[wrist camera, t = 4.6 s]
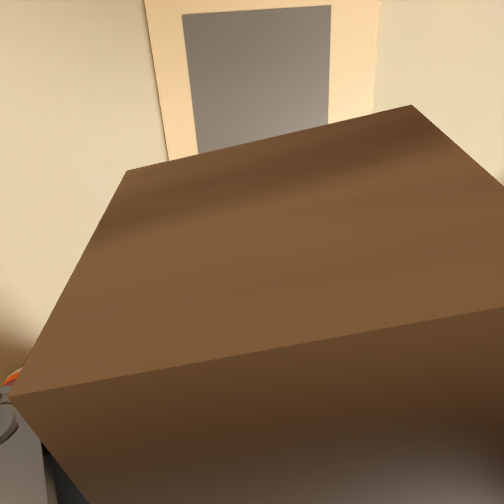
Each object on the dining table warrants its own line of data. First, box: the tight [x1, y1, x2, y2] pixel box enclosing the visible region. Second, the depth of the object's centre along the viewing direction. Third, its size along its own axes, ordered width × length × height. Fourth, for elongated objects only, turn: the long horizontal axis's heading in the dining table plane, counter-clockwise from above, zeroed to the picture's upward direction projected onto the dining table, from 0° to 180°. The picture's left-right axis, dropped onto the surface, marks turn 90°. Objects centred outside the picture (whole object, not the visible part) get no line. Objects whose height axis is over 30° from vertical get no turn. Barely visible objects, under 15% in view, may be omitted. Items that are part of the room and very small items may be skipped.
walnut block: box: [7, 105, 504, 504], centre depth 9 cm, size 6×6×6 cm
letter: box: [144, 0, 381, 161], centre depth 23 cm, size 14×10×1 cm
